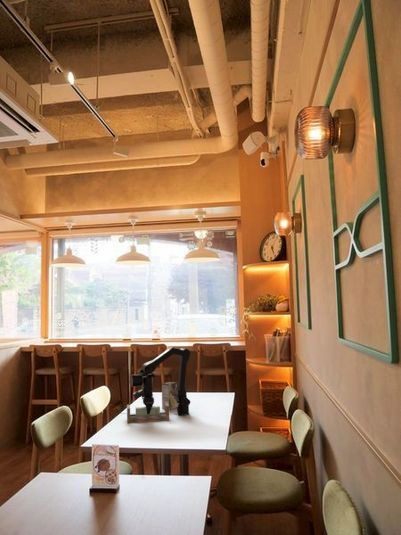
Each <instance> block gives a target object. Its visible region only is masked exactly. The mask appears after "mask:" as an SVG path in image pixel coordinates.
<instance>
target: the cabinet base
mask: <svg viewBox="0 0 401 535" xmlns="http://www.w3.org/2000/svg"><path fill="white" fill-rule="evenodd" d="M126 419H127V420H126V422H127V424H134V423H135V424H136V423H145V422H146V423H149V422H151V423H152V422H164V421H170V410H169V405H168V403H165V409H164V411H162V412H161V411H160V415H150V416H136V413H131V405H130V404H127V405H126Z"/></svg>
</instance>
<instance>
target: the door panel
mask: <svg viewBox="0 0 401 535" xmlns="http://www.w3.org/2000/svg"><path fill="white" fill-rule="evenodd" d="M160 412H161V406H160V405H155V406H152V409H151V411H150V414H147V409H146V406H138V407H137V406H136V407H135V414H136V416H150V415H160Z"/></svg>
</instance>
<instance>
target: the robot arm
mask: <svg viewBox="0 0 401 535" xmlns="http://www.w3.org/2000/svg"><path fill="white" fill-rule="evenodd" d="M173 355H176V356H177V360H178V377H177V382H178V385H177V388H176V389H174V394H173V396H174V399H175V400H176V401H177V403H178V406H177V407H176V413H177V415H178V416H181V417H182V416H190V407H189V406H190V405H191V400H190V399H189V398H188V396H187V390H186V377H187V368H188V366H187V365H188V363H189V360H190V357H191V351H190V350H189V349H188V348H180V349H179V348H175V347H172V346H169V347H168V348H167V349H166V350H165V351H163V352H162V353H161V354H159V355H158V356H157V357H155V358H154V359H152V360H150V361H147V362H145V363H143V364H142V365H141V369H140V370H139V372H138V374H131V375H130V379H129V385H130V387H131V388H134V387H141V386H142V387H141V389H140V390H137V391H135V392H133V393H132V394H133V397H134V400H137V399H139V398H140V397H141V398H142V399H141V400H142V403H143V405H145V407H146V409H147V414H150V411H151V409H152V406H153V405H154V404H155V397H154V394H153V390H154V387H153V384H154V382H153V381H154V380H153V378H156V377H157V376H156V374H154V372H155V371H156V369H158V366H159V365H161V364H162V363H163V362H165V361H166V360H167V359H169V358H170V357H171V356H173Z"/></svg>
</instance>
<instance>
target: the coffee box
mask: <svg viewBox="0 0 401 535" xmlns="http://www.w3.org/2000/svg"><path fill="white" fill-rule="evenodd" d="M177 385H178V381H175V382H174V381H169V382H163V383H161V405H162V407H161V408H162V410H165V403H168V405H169V411H170V410H172V409H175V408H176V409H177V406H178V404H179V403H177V401H176V400H175V399H174V396H173V394H174V389H176V388H177Z"/></svg>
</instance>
